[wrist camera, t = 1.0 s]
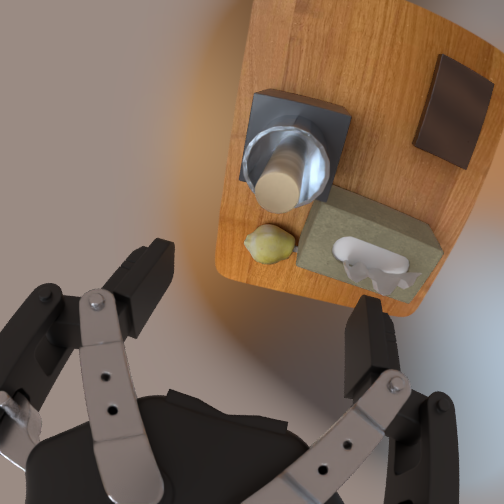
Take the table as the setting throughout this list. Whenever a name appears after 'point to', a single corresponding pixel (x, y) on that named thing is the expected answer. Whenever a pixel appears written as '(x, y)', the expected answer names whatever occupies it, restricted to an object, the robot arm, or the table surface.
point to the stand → (320, 112)
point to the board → (453, 112)
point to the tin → (268, 142)
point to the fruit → (270, 244)
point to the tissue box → (368, 245)
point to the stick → (282, 176)
